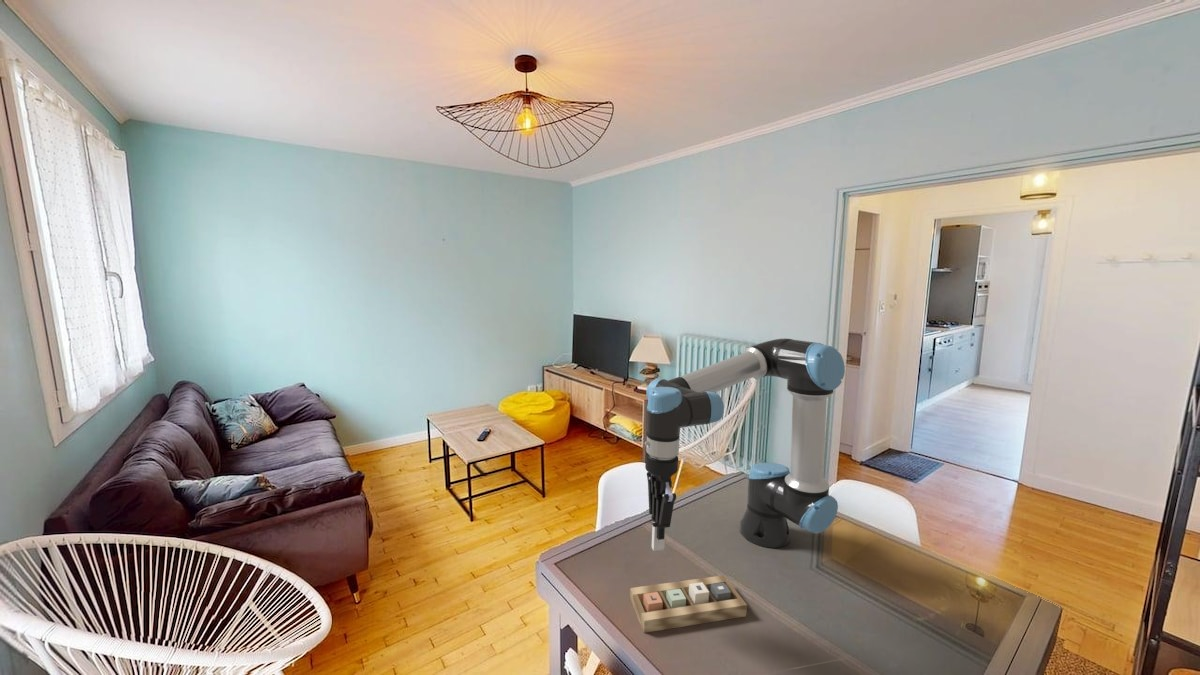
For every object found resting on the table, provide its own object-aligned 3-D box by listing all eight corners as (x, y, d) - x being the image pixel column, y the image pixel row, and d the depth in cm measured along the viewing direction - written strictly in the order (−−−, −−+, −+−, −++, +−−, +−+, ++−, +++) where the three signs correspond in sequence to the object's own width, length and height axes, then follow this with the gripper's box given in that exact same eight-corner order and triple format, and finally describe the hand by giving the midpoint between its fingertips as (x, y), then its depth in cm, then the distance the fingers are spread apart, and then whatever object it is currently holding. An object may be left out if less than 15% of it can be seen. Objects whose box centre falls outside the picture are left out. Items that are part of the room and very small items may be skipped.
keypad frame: (723, 585, 117) (724, 575, 117) (746, 616, 107) (746, 604, 106) (629, 599, 111) (630, 588, 111) (644, 632, 101) (644, 620, 100)
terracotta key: (656, 603, 109) (657, 591, 109) (662, 614, 106) (662, 601, 105) (642, 605, 108) (643, 593, 108) (647, 616, 105) (648, 603, 104)
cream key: (701, 593, 112) (702, 581, 111) (708, 603, 108) (709, 591, 108) (688, 595, 111) (689, 583, 111) (694, 606, 107) (695, 593, 107)
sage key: (679, 600, 110) (680, 588, 110) (685, 610, 107) (686, 598, 107) (665, 602, 110) (666, 590, 109) (671, 612, 106) (672, 600, 106)
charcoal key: (722, 593, 113) (723, 582, 113) (730, 603, 110) (731, 591, 109) (710, 595, 112) (710, 583, 112) (716, 605, 109) (717, 593, 109)
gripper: (637, 444, 108) (634, 534, 111) (656, 467, 95) (652, 567, 98) (666, 443, 110) (662, 531, 113) (688, 464, 97) (683, 563, 100)
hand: (657, 548), depth 106 cm, fingers closed
